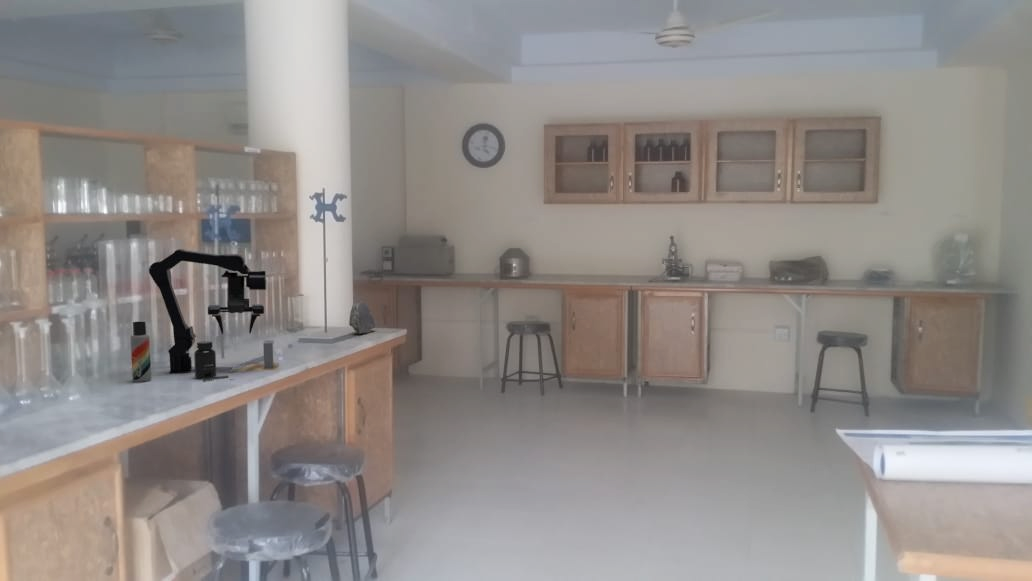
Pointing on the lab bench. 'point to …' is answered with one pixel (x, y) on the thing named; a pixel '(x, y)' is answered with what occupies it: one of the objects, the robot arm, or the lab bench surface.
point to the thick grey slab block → (269, 354)
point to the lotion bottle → (140, 353)
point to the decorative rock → (361, 318)
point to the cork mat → (256, 367)
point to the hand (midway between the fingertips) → (236, 333)
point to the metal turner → (214, 378)
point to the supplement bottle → (205, 360)
